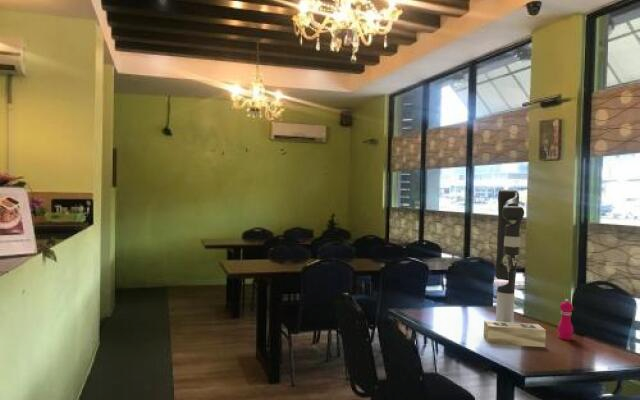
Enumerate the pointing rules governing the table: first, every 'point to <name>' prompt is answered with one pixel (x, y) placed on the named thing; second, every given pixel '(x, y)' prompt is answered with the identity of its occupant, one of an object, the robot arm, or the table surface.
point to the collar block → (514, 334)
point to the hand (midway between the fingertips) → (510, 279)
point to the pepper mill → (565, 321)
